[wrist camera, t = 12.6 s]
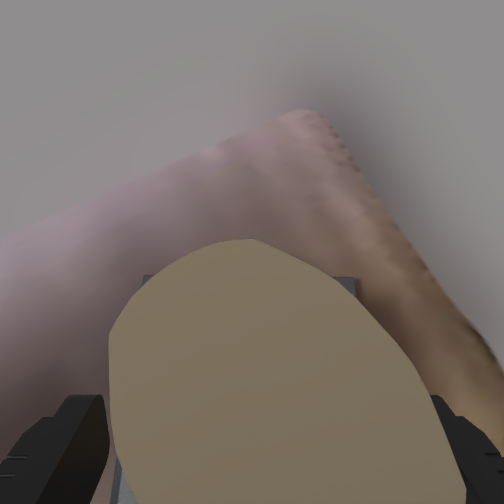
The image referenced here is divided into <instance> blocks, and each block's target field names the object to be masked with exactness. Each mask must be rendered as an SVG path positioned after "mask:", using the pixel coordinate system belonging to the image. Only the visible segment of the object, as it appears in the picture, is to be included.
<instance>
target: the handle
mask: <svg viewBox="0 0 504 504" xmlns="http://www.w3.org/2000/svg"><path fill="white" fill-rule="evenodd" d="M109 393H110V418H111V424H112V431H113V438H114V444H115V451H116V453H117V456H118V459H119V461H120V464H121V467H122V469H123V472H124V474H125V477H126V480H127V482H128V485H129V487H130V488H131V490H132V492H133V494H134V496H135V498H136V500H137V502H138V504H466V487H465V484H464V481H463V479H462V476H461V473H460V471H459V468H458V466H457V463H456V460H455V458H454V455H453V452H452V450H451V447H450V445H449V442H448V439H447V437H446V434H445V432H444V429H443V427H442V424H441V422H440V419H439V417H438V414H437V412H436V409H435V407H434V405H433V402H432V400H431V397H430V395H429V393H428V391H427V389H426V387H425V385H424V383H423V381H422V380H421V378H420V376H419V374H418V372H417V370H416V368H415V366H414V365H413V364H412V362H411V361H410V360H409V358H408V357H407V356H406V354H405V353H404V352H403V351H402V349H401V348H400V347H399V345H398V344H397V343H396V341H395V340H394V339H393V338H392V337H391V336H390V335H389V334H388V333H387V332H386V330H385V329H384V328H383V327H382V326H381V325H380V324H379V323H378V322H377V321H376V320H375V318H374V317H373V316H372V315H371V314H370V313H369V312H368V311H367V310H366V309H365V307H364V306H363V305H362V304H361V303H360V302H359V301H358V300H357V299H356V298H355V297H354V296H353V295H352V294H351V293H350V292H349V291H348V290H347V289H345V288H344V287H343V286H342V285H341V284H340V283H339V282H338V281H336V280H335V279H333V278H332V277H330V276H328V275H327V274H325V273H324V272H322V271H320V270H319V269H317V268H316V267H314V266H312V265H310V264H307V263H305V262H303V261H301V260H299V259H297V258H295V257H293V256H291V255H289V254H287V253H285V252H282V251H280V250H278V249H276V248H274V247H272V246H269V245H267V244H265V243H263V242H261V241H258V240H256V239H236V240H229V241H223V242H217V243H214V244H211V245H208V246H206V247H203V248H200V249H197V250H195V251H193V252H191V253H189V254H187V255H185V256H183V257H181V258H180V259H178V260H176V261H174V262H172V263H171V264H169V265H168V266H167V267H165V268H164V269H162V270H161V271H160V272H158V273H157V274H156V275H154V276H153V277H152V278H150V279H149V280H148V281H147V282H146V283H145V284H144V285H143V286H142V287H141V288H140V289H139V290H138V291H137V292H136V293H135V294H134V295H133V296H132V297H131V298H130V300H129V301H128V303H127V304H126V306H125V307H124V309H123V310H122V311H121V313H120V314H119V316H118V318H117V320H116V322H115V323H114V325H113V327H112V329H111V331H110V333H109Z"/></svg>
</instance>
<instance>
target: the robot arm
mask: <svg viewBox="0 0 504 504" xmlns="http://www.w3.org/2000/svg"><path fill="white" fill-rule="evenodd" d="M430 397H431V400H432V402H433V405H434V407H435V409H436V412H437V414H438V417H439V419H440V422H441V424H442V427H443V429H444V432H445V434H446V437H447V439H448V442H449V445H450V447H451V450H452V452H453V455H454V458H455V460H456V463H457V466H458V468H459V471H460V473H461V476H462V479H463V481H464V484H465V487H466V504H504V457H501V455H500V452H499V451H498V450H497V448H496V447H495V446H494V445H493V443H492V442H491V441H490V440H489V438H488V437H487V436H486V435H485V433H483V432H482V431H481V430H480V429H478V428H477V427H476V426H474V425H473V424H472V423H471V422H469V421H468V420H467V419H466V418H464V417H463V416H455V414H454V413H453V412H452V410H451V409H450V408H449V406H448V405H447V404H446V402H445V401H444V400H443V399H442V398H441V397H440V396H438V395H430ZM109 446H110V439H109V432H108V425H107V419H106V412H105V406H104V400H103V397H102V396H101V395H69V396H68V397H67V398H66V399H65V400H64V402H63V403H62V405H61V406H60V408H59V409H58V411H57V412H56V414H55V415H54V417H43V418H42V419H41V420H40V421H38V422H37V423H36V424H35V425H33V426H32V427H31V428H30V429H29V430H27V431H26V432H25V433H24V434H23V435H22V436H21V437H20V439H19V440H18V441H17V443H16V444H15V445H14V447H13V448H12V450H11V451H10V452H9V454H8V455H7V459H6V460H4V461H3V462H2V463H1V465H0V504H90V502H91V500H92V497H93V495H94V492H95V490H96V487H97V485H98V483H99V480H100V478H101V475H102V473H103V470H104V468H105V465H106V462H107V459H108V454H109Z"/></svg>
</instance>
